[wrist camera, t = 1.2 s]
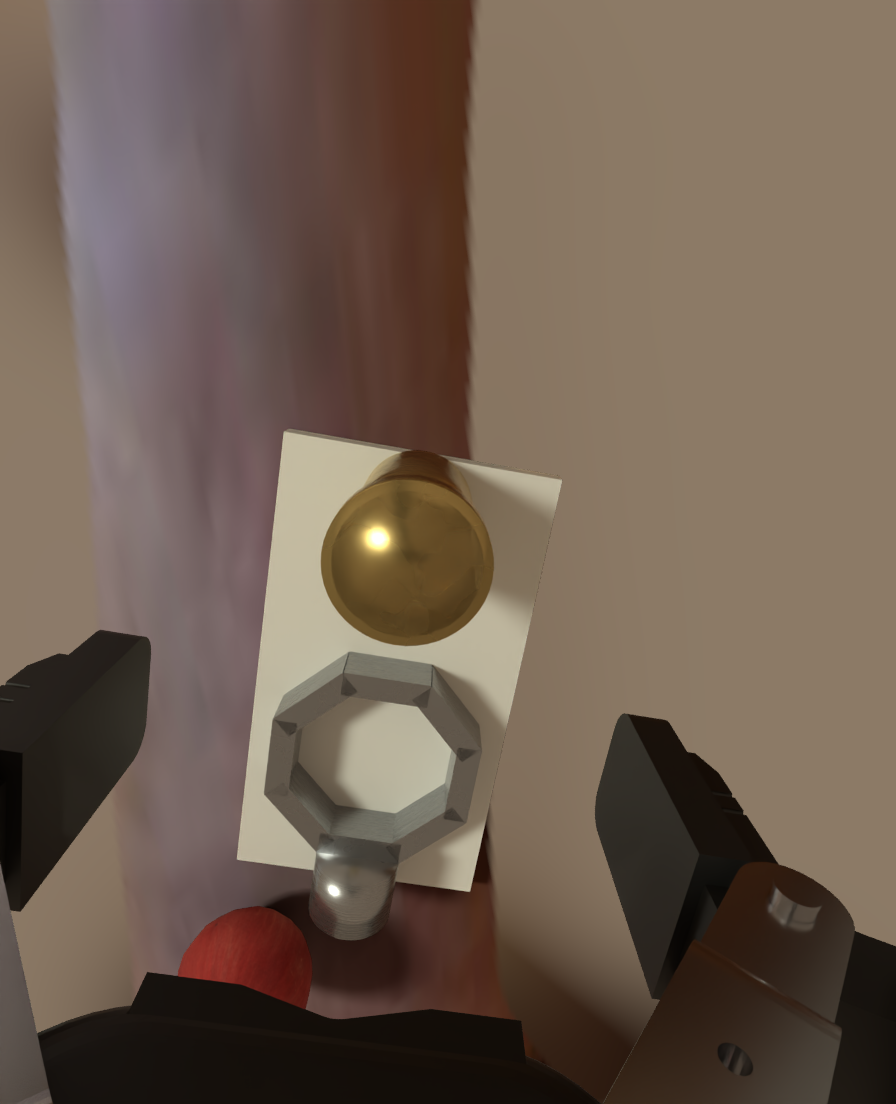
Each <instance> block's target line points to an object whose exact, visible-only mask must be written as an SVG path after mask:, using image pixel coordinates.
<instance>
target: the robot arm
mask: <svg viewBox="0 0 896 1104" xmlns="http://www.w3.org/2000/svg"><path fill="white" fill-rule="evenodd" d="M150 659H151V645H150V641H149V639H148V638H147V637H142V636H136V635H130V634H123V633H117V632H111V631H104V630H99V631H97V632H96V633H95V634H93V635H92V636H91V637H90V638H88V639H87V640H86V641H85V642H84V643H82V644H81V645H80V646H79V647H78V648H76V649H75V650H74V651H73V652H72V653H70V654H69V655H65V654H56V655H54V656H51V657H49V658H46V659H43V660H41V661H38V662H36V663H33V664H30V665H27V666H26V667H25V668H24V669H22V670H21V671H20V672H18V673H17V674H16V675H14V676H13V677H12V678H11V679H9V680H8V681H7V682H6V685H1V686H0V1104H600V1102H598V1101H597V1100H596V1099H595V1098H594V1097H592V1096H591V1095H590V1094H589V1093H587V1092H586V1091H585V1090H584V1089H582V1088H581V1087H580V1086H579V1085H577V1084H576V1083H575V1082H573V1081H572V1080H570V1079H569V1078H567V1077H566V1076H564V1075H563V1074H561V1073H560V1072H558V1071H556V1070H554V1069H552V1068H550V1067H548V1066H547V1065H545V1064H543V1063H541V1062H539V1061H537V1060H534V1059H532V1058H530V1057H527V1056H525V1049H524V1040H523V1032H522V1024H521V1021H519V1020H511V1019H503V1018H496V1017H488V1016H480V1015H472V1014H465V1013H457V1012H449V1011H442V1010H434V1009H429V1010H420V1011H411V1012H402V1013H394V1014H385V1015H376V1016H368V1017H359V1018H350V1019H330V1018H327V1017H323V1016H321V1015H318V1014H316V1013H313V1012H311V1011H308V1010H305V1009H303V1008H300V1007H298V1006H295V1005H293V1004H290V1003H288V1002H285V1001H282V1000H280V999H277V998H275V997H272V996H270V995H267V994H264V993H262V992H259V991H257V990H254V989H252V988H249V987H247V986H244V985H241V984H234V983H227V982H219V981H211V980H203V979H196V978H188V977H180V976H173V975H165V974H157V973H150V972H147V974H146V976H145V978H144V980H143V982H142V984H141V986H140V989H139V991H138V993H137V995H136V997H135V999H134V1001H133V1003H132V1006H124V1007H117V1008H112V1009H107V1010H103V1011H98V1012H93V1013H90V1014H87V1015H84V1016H80V1017H77V1018H74V1019H71V1020H68V1021H65V1022H63V1023H61V1024H58V1025H56V1026H53V1027H51V1028H49V1029H46V1030H44V1031H41V1032H39V1033H37V1031H36V1027H35V1022H34V1017H33V1013H32V1008H31V1003H30V999H29V994H28V990H27V985H26V980H25V976H24V971H23V967H22V962H21V957H20V953H19V948H18V943H17V939H16V934H15V930H14V925H13V920H12V916H11V911H10V910H12V911H21V910H22V909H23V908H24V906H25V905H26V903H27V902H28V901H29V899H30V898H31V897H32V896H33V894H34V893H35V891H36V890H37V889H38V888H39V886H40V885H41V884H42V882H43V881H44V879H45V878H46V877H47V875H48V874H49V873H50V871H51V870H52V869H53V867H54V866H55V865H56V863H57V862H58V861H59V859H60V858H61V857H62V855H63V854H64V853H65V851H66V850H67V849H68V847H69V846H70V845H71V843H72V842H73V841H74V839H75V838H76V837H77V835H78V834H79V833H80V831H81V830H82V829H83V827H84V826H85V824H86V823H87V822H88V820H89V819H90V818H91V816H92V815H93V814H94V812H95V811H96V810H97V808H98V807H99V806H100V804H101V803H102V802H103V800H104V799H105V798H106V796H107V795H108V794H109V792H110V791H111V790H112V788H113V787H114V786H115V784H116V783H117V782H118V780H119V779H120V778H121V776H122V775H123V774H124V772H125V771H126V770H127V768H128V767H129V766H130V764H131V763H132V762H133V760H134V759H135V757H136V755H137V753H138V751H139V748H140V746H141V743H142V740H143V736H144V732H145V727H146V718H147V704H148V689H149V674H150ZM595 820H596V827H597V831H598V835H599V837H600V840H601V844H602V847H603V850H604V853H605V856H606V859H607V862H608V865H609V868H610V871H611V874H612V878H613V881H614V883H615V887H616V890H617V893H618V896H619V899H620V902H621V905H622V908H623V911H624V914H625V917H626V921H627V923H628V926H629V930H630V933H631V936H632V939H633V942H634V945H635V948H636V951H637V954H638V957H639V960H640V963H641V967H642V970H643V972H644V976H645V979H646V982H647V985H648V988H649V991H650V994H651V997H652V999H659V1000H660V1001H659V1002H658V1004H657V1006H656V1008H655V1010H654V1012H653V1013H652V1015H651V1017H650V1019H649V1021H648V1023H647V1024H646V1026H645V1028H644V1030H643V1032H642V1034H641V1035H640V1037H639V1039H638V1041H637V1043H636V1044H635V1046H634V1048H633V1050H632V1052H631V1053H630V1055H629V1057H628V1059H627V1061H626V1062H625V1064H624V1066H623V1068H622V1070H621V1072H620V1073H619V1075H618V1077H617V1079H616V1081H615V1083H614V1084H613V1086H612V1088H611V1090H610V1092H609V1093H608V1095H607V1097H606V1099H605V1101H604V1103H603V1104H896V946H893V945H890V944H888V943H885V942H882V941H880V940H877V939H874V938H872V937H868V936H866V935H863V934H861V933H859V932H856V931H855V926H854V922H853V920H852V917H851V915H850V914H849V912H848V911H847V909H846V908H845V906H844V905H843V904H842V903H841V902H840V901H839V899H838V898H836V897H835V896H834V895H833V894H832V893H831V892H830V891H829V890H827V889H826V888H825V887H824V886H822V885H821V884H819V883H818V882H816V881H815V880H813V879H812V878H810V877H808V876H806V875H804V874H802V873H800V872H798V871H796V870H793V869H791V868H788V867H786V866H782V865H779V864H778V863H777V861H776V860H775V858H774V857H773V855H772V854H771V852H770V851H769V849H768V847H767V846H766V844H765V843H764V841H763V840H762V838H761V837H760V835H759V834H758V832H757V831H756V829H755V828H754V826H753V825H752V823H751V822H750V820H749V819H748V817H747V816H746V815H743V809H742V808H741V807H740V805H739V804H738V802H737V800H736V799H735V798H733V797H732V793H731V791H730V790H729V788H728V787H727V785H726V784H725V782H724V780H723V779H722V777H721V776H720V774H719V773H718V772H717V771H716V770H714V769H713V768H712V767H711V766H710V765H708V764H707V763H706V762H705V761H704V760H702V759H701V758H700V757H699V756H698V755H696V754H695V753H689V752H687V751H686V749H685V748H684V746H683V745H682V743H681V741H680V740H679V738H678V736H677V735H676V733H675V731H674V730H673V728H672V726H671V725H670V723H669V722H668V721H666V720H662V719H656V718H649V717H642V716H636V715H630V714H622V715H621V716H620V718H619V719H618V721H617V723H616V726H615V729H614V733H613V736H612V740H611V744H610V747H609V751H608V755H607V758H606V762H605V766H604V769H603V773H602V776H601V780H600V784H599V788H598V792H597V796H596V806H595Z"/></svg>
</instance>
